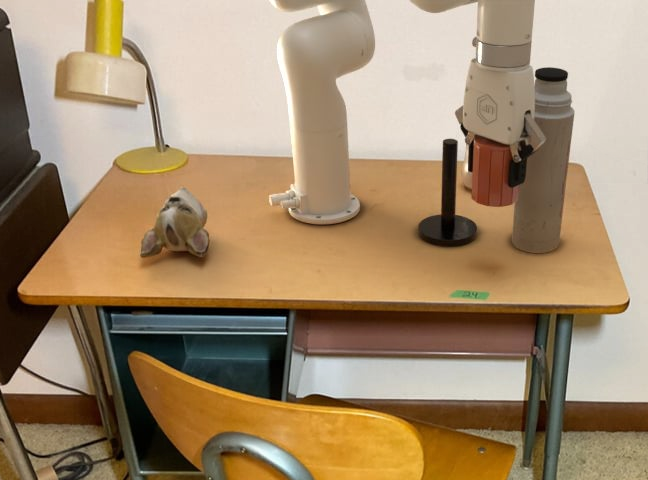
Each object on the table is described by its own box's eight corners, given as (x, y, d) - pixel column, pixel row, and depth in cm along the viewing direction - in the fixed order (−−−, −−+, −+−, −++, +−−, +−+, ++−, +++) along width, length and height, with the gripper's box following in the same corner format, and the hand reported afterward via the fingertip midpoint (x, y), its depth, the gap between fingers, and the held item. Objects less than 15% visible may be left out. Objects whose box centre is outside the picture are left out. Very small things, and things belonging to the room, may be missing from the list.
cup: (485, 210, 125) (488, 150, 119) (463, 192, 130) (465, 134, 124) (526, 202, 127) (531, 143, 122) (503, 185, 132) (507, 127, 127)
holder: (434, 251, 139) (435, 156, 129) (408, 226, 146) (408, 135, 136) (487, 240, 143) (493, 147, 133) (460, 216, 150) (463, 126, 140)
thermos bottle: (561, 234, 145) (581, 65, 128) (556, 255, 139) (577, 81, 122) (514, 229, 146) (528, 61, 129) (508, 250, 140) (522, 76, 123)
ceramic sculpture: (214, 177, 139) (199, 222, 127) (222, 224, 144) (209, 271, 133) (148, 177, 138) (127, 223, 127) (159, 225, 144) (140, 272, 132)
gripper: (438, 45, 118) (436, 167, 129) (535, 72, 109) (525, 202, 120) (474, 36, 122) (469, 155, 133) (570, 61, 113) (557, 187, 124)
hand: (495, 176), depth 126 cm, fingers closed on cup, 7 cm apart
